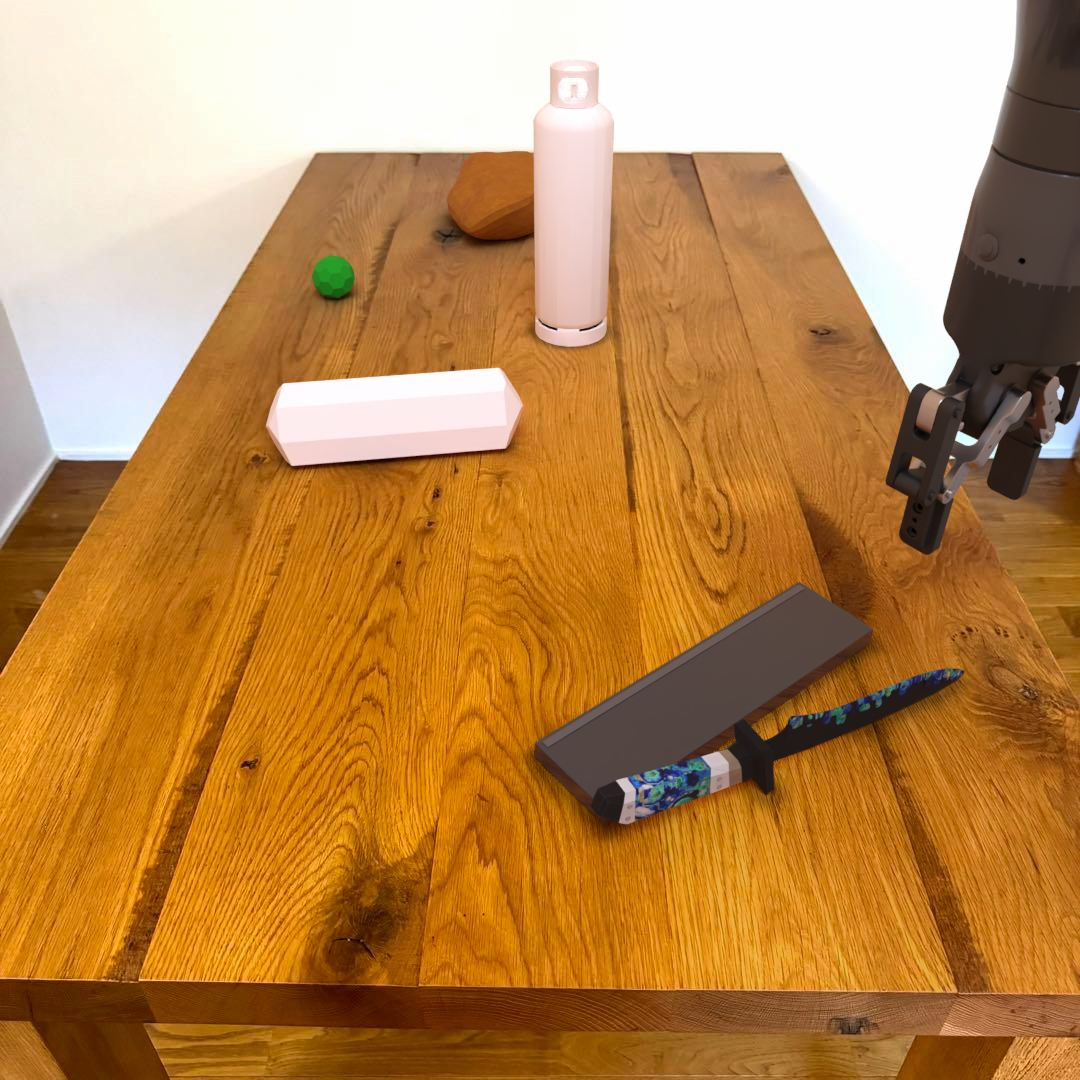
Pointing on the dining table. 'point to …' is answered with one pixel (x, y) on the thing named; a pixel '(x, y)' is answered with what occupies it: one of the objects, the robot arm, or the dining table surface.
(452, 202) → the orange brown rock
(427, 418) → the crystal
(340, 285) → the polyhedron
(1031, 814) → the dining table surface
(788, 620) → the slate board
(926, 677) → the knife
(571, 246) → the bottle
